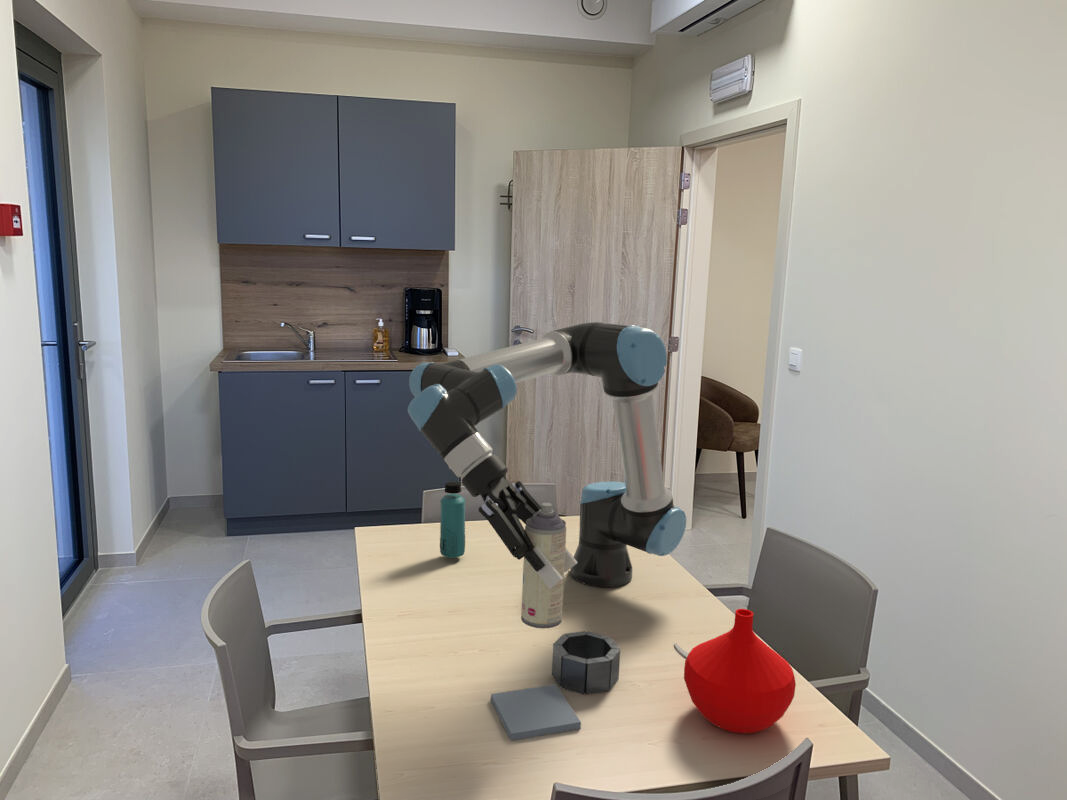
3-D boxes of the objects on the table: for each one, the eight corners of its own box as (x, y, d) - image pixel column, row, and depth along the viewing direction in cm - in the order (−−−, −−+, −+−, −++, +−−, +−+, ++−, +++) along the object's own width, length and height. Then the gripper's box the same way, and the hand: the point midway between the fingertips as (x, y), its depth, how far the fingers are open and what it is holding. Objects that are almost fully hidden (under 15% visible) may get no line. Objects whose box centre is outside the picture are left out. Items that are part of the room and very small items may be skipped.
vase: (660, 699, 140) (667, 598, 137) (744, 680, 147) (753, 584, 144) (723, 760, 123) (733, 646, 120) (814, 735, 131) (826, 628, 127)
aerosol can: (534, 606, 137) (540, 495, 133) (569, 617, 133) (575, 503, 130) (513, 620, 131) (517, 505, 127) (548, 632, 127) (554, 513, 124)
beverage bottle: (470, 557, 202) (471, 482, 198) (454, 565, 196) (455, 488, 193) (450, 551, 205) (451, 477, 201) (433, 559, 200) (434, 483, 196)
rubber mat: (555, 690, 142) (555, 684, 141) (580, 728, 130) (580, 721, 130) (490, 700, 138) (491, 694, 137) (511, 740, 126) (511, 733, 126)
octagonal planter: (601, 657, 154) (602, 628, 153) (626, 688, 143) (628, 657, 142) (545, 665, 150) (546, 636, 149) (567, 697, 139) (568, 666, 138)
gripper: (486, 466, 143) (567, 567, 140) (434, 494, 125) (525, 611, 122) (515, 441, 140) (597, 543, 137) (465, 466, 122) (560, 584, 119)
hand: (563, 575), depth 129 cm, fingers closed on aerosol can, 7 cm apart
